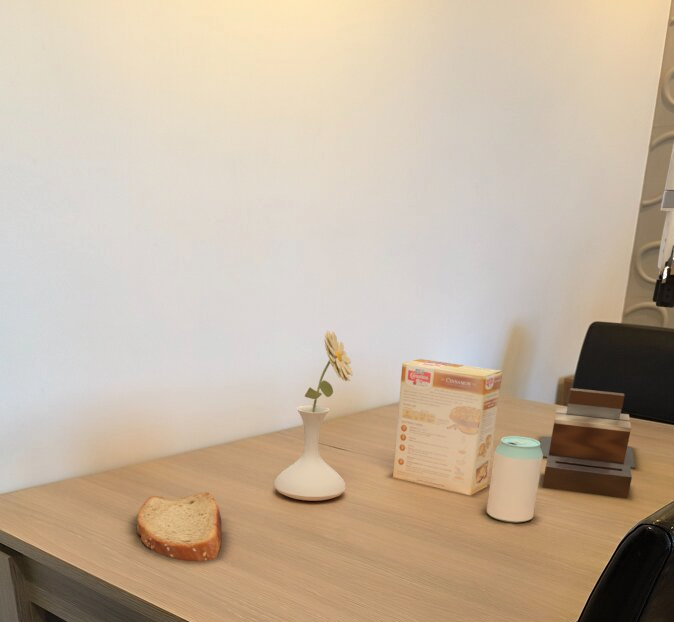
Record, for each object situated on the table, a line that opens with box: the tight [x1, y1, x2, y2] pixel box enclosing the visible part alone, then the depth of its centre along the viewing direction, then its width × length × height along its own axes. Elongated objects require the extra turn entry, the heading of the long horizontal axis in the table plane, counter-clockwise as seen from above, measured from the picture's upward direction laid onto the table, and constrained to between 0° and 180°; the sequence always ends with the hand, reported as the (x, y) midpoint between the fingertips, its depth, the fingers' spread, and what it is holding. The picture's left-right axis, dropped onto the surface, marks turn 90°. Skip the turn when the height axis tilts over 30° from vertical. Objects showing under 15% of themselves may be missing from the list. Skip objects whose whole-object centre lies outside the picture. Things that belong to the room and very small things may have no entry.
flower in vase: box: [273, 330, 354, 502], centre depth 127 cm, size 13×11×25 cm
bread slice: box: [136, 491, 222, 563], centre depth 114 cm, size 18×18×4 cm
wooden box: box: [540, 406, 636, 470], centre depth 162 cm, size 18×16×7 cm
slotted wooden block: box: [541, 455, 633, 500], centre depth 142 cm, size 14×7×4 cm, turn 74°
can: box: [486, 435, 544, 524], centre depth 124 cm, size 7×7×12 cm
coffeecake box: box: [392, 358, 503, 496], centre depth 137 cm, size 15×7×20 cm, turn 56°
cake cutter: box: [566, 387, 625, 420], centre depth 161 cm, size 10×2×12 cm, turn 74°
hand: (662, 304), depth 155 cm, fingers open, 9 cm apart
